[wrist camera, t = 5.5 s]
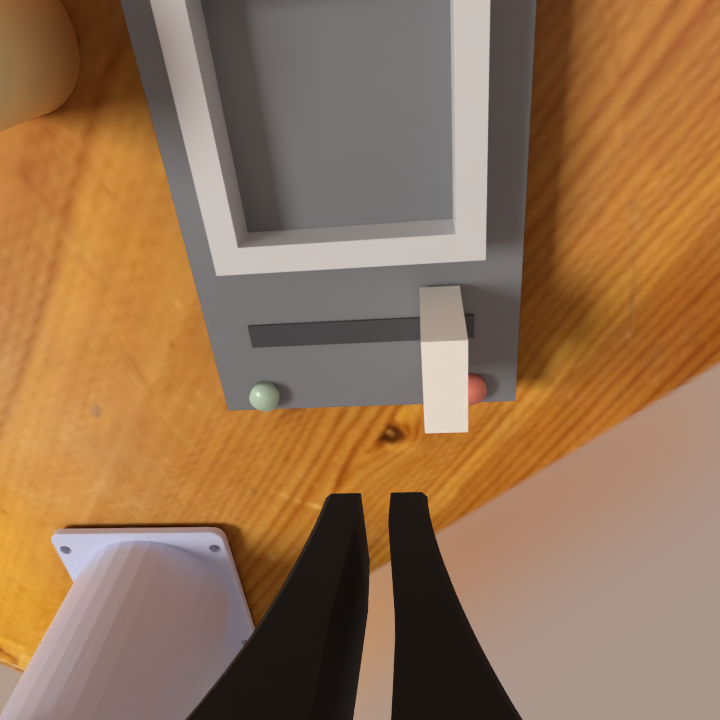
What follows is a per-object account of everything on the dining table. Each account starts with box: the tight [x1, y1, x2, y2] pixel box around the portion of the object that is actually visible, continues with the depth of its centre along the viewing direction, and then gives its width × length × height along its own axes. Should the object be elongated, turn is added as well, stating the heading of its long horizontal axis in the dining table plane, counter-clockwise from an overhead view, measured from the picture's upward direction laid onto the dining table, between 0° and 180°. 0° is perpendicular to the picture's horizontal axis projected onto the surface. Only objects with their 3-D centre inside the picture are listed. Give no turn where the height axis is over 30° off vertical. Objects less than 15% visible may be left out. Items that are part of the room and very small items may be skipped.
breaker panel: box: [120, 0, 536, 411], centre depth 17 cm, size 14×10×2 cm
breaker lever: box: [419, 285, 468, 433], centre depth 17 cm, size 3×1×3 cm, turn 5°
